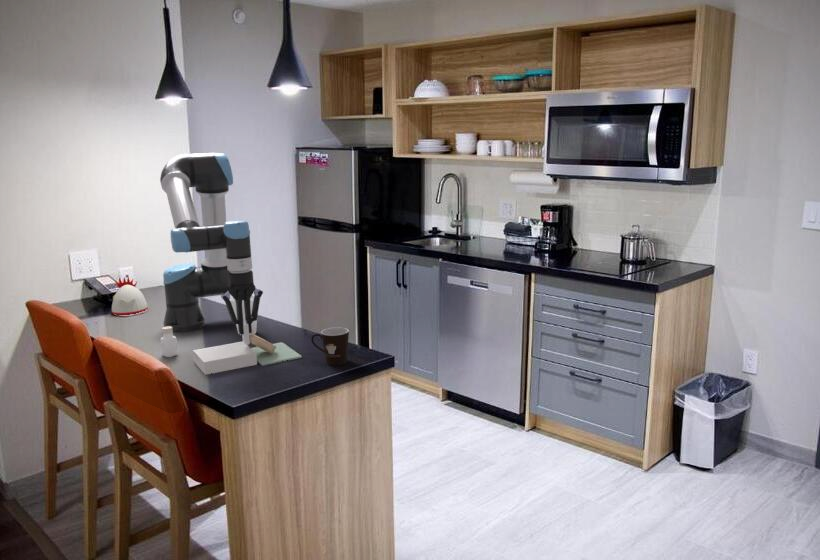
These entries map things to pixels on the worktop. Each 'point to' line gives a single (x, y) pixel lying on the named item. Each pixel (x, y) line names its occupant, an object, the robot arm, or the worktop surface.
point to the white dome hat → (128, 299)
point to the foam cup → (254, 323)
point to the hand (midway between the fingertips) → (246, 343)
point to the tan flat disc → (262, 343)
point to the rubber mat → (275, 354)
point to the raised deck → (224, 357)
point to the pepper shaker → (168, 342)
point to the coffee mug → (334, 345)
